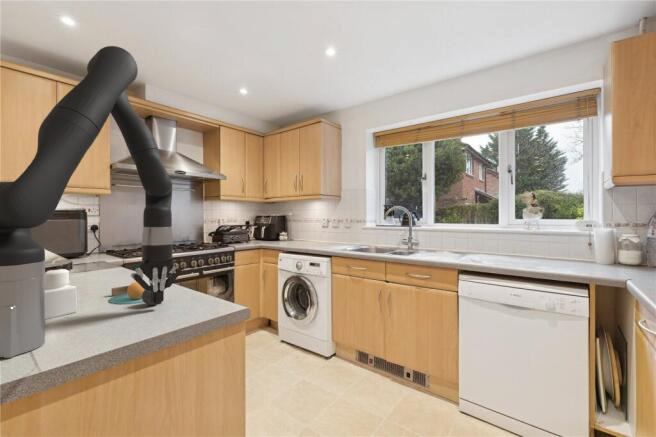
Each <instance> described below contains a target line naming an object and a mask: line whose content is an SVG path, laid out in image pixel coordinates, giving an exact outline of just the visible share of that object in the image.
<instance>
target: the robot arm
mask: <svg viewBox="0 0 656 437" xmlns="http://www.w3.org/2000/svg"><path fill="white" fill-rule="evenodd" d="M86 67H87V68H86V71H87V74H86V76H85V77H83V79H82V80H80V82H79V83H78V84H76V85H75V86H74V87H73V88H71V90H70V91H68V92H67V93H66V94H65V95H64V96H63V97H61V99H60V100H59V101H58V102H57V103H56V104H55V105H54V106H53V108H52V109H51V110H50V111H49V113H48V114H47V115H46V116H45V118H44V119H43V121H42V123H41V124H40V126H39V128H38V132H37V149H36V153H35V155H34V157H33V159H32V161H31V163H30V164H28V166H27V167H26V168H25V170H24V171H23V172H22V173H21V174H20V175H19V176H18V177H17V178H16V179H15V180H14V181H0V357H4V358H3V359H11V358H13V357H16V356H17V355H18V356H19V355H21V354H24V353H27V352H31V351H33V350H35V349H37V348H40V347H41V346H43V345H44V344H45V342H46V320H45V270H46V251H45V248H44V246H42V245H40V244H39V243H38V242H36V241H35V239H34V238H33V237H32V234H31V229H34V228H37V227H40V226H42V225H44V224H45V223H46V222H48V221H49V219H51V217H52V216H53V214H54V213H55V211H56V209H57V207H58V205H59V203H60V201H61V199H62V197H63V195H64V192H65V191H66V190H65V189H66V188H67V186H68V183H69V182H70V179H71V178H72V176H73V174H74V173H75V171H76V170H77V168H78V166H79V165H80V163H81V162H82V160H83V158H84V157H85V155H86V153H87V152H88V150H89V149H90V148H91V147H92V145H93V144H94V142H95V141H96V139H97V137H98V136H99V134H100V133H101V131H102V129H103V127H104V126H105V123H106V122H107V120H108V119H109V116H110V114H111V116H112V118H113V119H114V121H115V123H116V125H117V126H118V129H119V131H120V134H121V136H122V137H123V139H124V142H125V145H126V147H127V149H128V153H129V155H130V157H131V159H132V161H133V163H134V165H135V168H136V170H137V174H138V175H137V176H138V177H139V181H140V184H141V186H142V188H143V189H144V192H145V193H144V194H145V195H144V196H145V200H144V201H145V207H144V208H143V214H142V216H143V217H142V219H143V220H142V221H143V222H142V223H143V224H142V226H143V227H142V235H141V264H140V265H139V269H138V270H137V271H136V272H133V273H131V274H130V276H131V278H132V279H133V280H134V281H135V282H137V283H138V284H139V285H140V286H141V287H142V288H143V289H145V290H147V291H151V302H152V303H153V304H155V305H154V306H157V305H162V302H164V299H165V297H164V295H165V294H164V292H165V290H166V289H167V288H170V287H172V285H173V284H174V283H175V281H176V279H178V277H179V276H180V274H181V273H182V272H183V271H182V269H181V268H178V267H177V266H175V263H174V261H173V246H174V245H173V242H174V238H173V228H172V227H173V225H172V223H173V217H172V198H173V183H172V180H171V177H170V175H169V172H168V171H167V169H166V167H165V163H164V162H163V160H162V156H161V152H160V150H159V147H158V144H157V142H156V140H155V137H154V135H153V133H152V131H151V129H150V128H149V126H148V125H147V124H146V123H145V121H144V120H143V119H142V118H141V117H140V116H139V115H138V114H137V112H136V111H135V110H134V108H133V107H132V105H131V102H130V100H129V96H128V93H127V88H128V87H130V85H131V84H132V83H133V82H134V81H135V80H136V78H137V76H138V70H139V69H138V64H137V62H136V60H135V58H134V57H133V55H132V54H131V53H130V52H129V51H128V50H127V49H126V48H125V49H124V48H122V47H119V46H116V45H109V46H108V45H107V46H104V47H102V48H100V49H98V51H97V52H96V53H95V54H93V57H91V59H89V61H88V63H87V66H86ZM144 276H145V277H147V279H148V282H149V284H148V283H147V282H146V281H145V280H144Z"/></svg>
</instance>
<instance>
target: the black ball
mask: <svg viewBox="0 0 656 437" xmlns="http://www.w3.org/2000/svg"><path fill="white" fill-rule="evenodd" d="M142 300H143V302H142V303H144V304H145V305H147V306H156V305H155V304H153V303H152V302H151V291H147V290H144V291H143V293H142Z"/></svg>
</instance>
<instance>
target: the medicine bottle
mask: <svg viewBox="0 0 656 437" xmlns="http://www.w3.org/2000/svg"><path fill="white" fill-rule="evenodd" d="M77 289H78V288H77V286H74V285H71V284H70V270H69V269H66V268H61V267H60V268H48V269H45V321H47V320H49V319H50V320H51V319H54V318H58V317H62V316H68V315H70V314H71V315H73V314H75V313H77V311H78V310H77V307H78V305H77V300H78V299H77V297H78V296H77Z"/></svg>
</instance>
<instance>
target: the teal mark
mask: <svg viewBox="0 0 656 437" xmlns="http://www.w3.org/2000/svg"><path fill="white" fill-rule="evenodd" d="M108 303H110V304H113V305H133V304H139V303H140V304H141V303H144V302H143V300H142V298H141V299H136V300H135V299H131V298H130V297H129V296H128V294H122V295H118V296H111V298H109V299H108Z"/></svg>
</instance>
